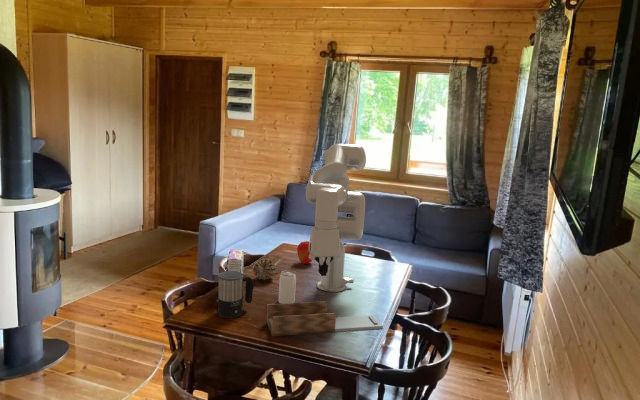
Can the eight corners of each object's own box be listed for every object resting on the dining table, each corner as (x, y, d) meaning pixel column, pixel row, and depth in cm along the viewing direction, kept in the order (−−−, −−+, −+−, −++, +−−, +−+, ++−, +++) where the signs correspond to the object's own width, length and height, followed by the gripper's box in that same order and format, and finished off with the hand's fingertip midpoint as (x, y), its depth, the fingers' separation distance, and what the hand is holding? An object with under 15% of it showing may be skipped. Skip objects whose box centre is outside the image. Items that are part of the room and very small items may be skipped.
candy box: (228, 286, 207) (229, 248, 204) (242, 286, 208) (244, 249, 205) (225, 298, 194) (226, 258, 191) (240, 298, 194) (241, 259, 191)
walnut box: (325, 318, 180) (326, 301, 179) (334, 331, 170) (336, 313, 169) (266, 322, 174) (267, 304, 173) (272, 336, 164) (273, 317, 163)
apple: (312, 267, 239) (313, 243, 237) (294, 264, 241) (295, 241, 239) (316, 261, 248) (317, 238, 246) (299, 259, 250) (300, 236, 248)
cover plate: (373, 319, 184) (373, 313, 184) (382, 329, 175) (383, 324, 175) (327, 321, 179) (327, 316, 179) (334, 332, 170) (334, 327, 170)
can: (297, 300, 196) (298, 272, 194) (290, 306, 190) (292, 276, 188) (282, 297, 198) (283, 269, 196) (275, 303, 192) (277, 274, 190)
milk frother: (230, 320, 174) (231, 280, 171) (198, 309, 182) (199, 271, 179) (256, 308, 186) (257, 271, 183) (225, 298, 194) (226, 262, 191)
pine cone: (267, 286, 210) (268, 264, 208) (247, 282, 213) (248, 260, 211) (287, 271, 230) (288, 251, 229) (269, 268, 233) (270, 248, 232)
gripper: (343, 220, 173) (339, 269, 177) (302, 221, 169) (299, 271, 173) (350, 226, 166) (346, 277, 170) (307, 227, 162) (304, 279, 166)
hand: (322, 274), depth 172 cm, fingers closed
